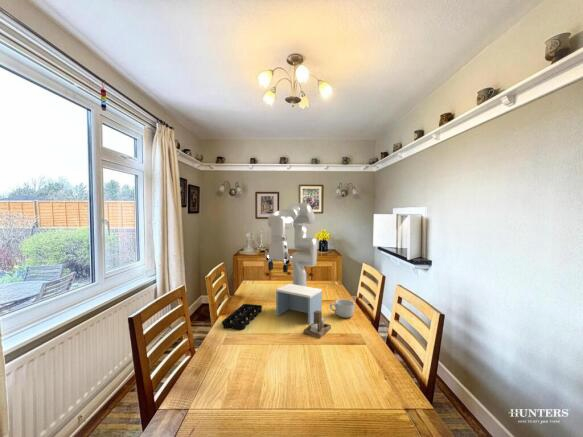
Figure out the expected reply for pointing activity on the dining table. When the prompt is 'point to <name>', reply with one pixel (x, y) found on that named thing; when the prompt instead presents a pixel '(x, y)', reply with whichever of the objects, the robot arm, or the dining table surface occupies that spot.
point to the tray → (317, 326)
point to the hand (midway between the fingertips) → (277, 271)
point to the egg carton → (241, 317)
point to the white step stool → (298, 300)
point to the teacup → (343, 308)
